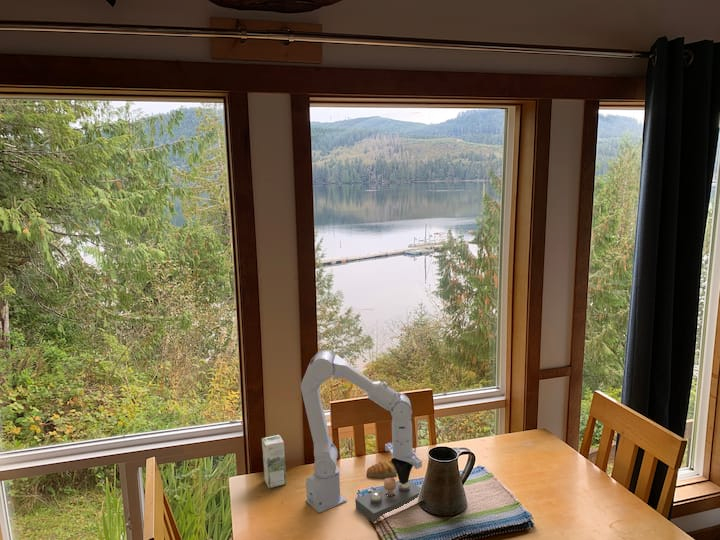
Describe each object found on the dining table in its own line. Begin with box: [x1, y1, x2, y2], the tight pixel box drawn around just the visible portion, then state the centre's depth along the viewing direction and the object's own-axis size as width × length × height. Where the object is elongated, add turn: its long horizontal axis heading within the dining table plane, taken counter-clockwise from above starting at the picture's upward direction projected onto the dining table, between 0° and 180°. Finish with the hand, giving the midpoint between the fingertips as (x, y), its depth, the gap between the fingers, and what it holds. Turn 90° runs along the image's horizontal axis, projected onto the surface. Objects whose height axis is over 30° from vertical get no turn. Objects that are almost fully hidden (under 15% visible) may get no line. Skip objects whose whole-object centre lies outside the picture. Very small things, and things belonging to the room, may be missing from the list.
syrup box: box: [261, 434, 287, 490], centre depth 166 cm, size 6×6×14 cm
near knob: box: [369, 490, 382, 504], centre depth 149 cm, size 3×3×5 cm
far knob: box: [397, 480, 410, 492], centre depth 154 cm, size 3×3×5 cm
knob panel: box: [354, 479, 422, 523], centre depth 152 cm, size 18×9×3 cm, turn 124°
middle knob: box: [383, 477, 396, 498], centre depth 151 cm, size 3×3×5 cm
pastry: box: [366, 459, 397, 479], centre depth 170 cm, size 9×7×4 cm
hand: (403, 482), depth 154 cm, fingers closed, pressing on far knob
